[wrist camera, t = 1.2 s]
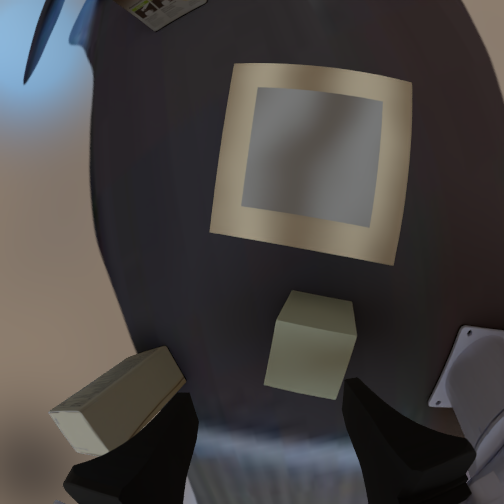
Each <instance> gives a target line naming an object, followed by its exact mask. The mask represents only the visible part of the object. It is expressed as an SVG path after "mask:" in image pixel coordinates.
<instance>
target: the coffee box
mask: <svg viewBox="0 0 504 504" xmlns="http://www.w3.org/2000/svg"><path fill="white" fill-rule="evenodd" d="M113 1H114V2H116V3H117V4H119V5H120V6H121V7H123V8H124V9H126V10H127V11H128V12H130V13H131V14H132V15H134V16H135V17H136V18H138V19H139V20H140V21H142V22H143V23H145V24H146V25H147V26H148V27H150V28H151V29H152V30H153V31H157V30H159V29H160V28H162V27H164V26H165V25H167V24H169V23H170V22H172V21H174V20H175V19H177V18H179V17H180V16H182V15H184V14H186V13H188V12H189V11H191V10H193V9H195V8H197V7H199V6H201V5H203V4H205V3H206V1H207V0H113Z"/></svg>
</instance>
